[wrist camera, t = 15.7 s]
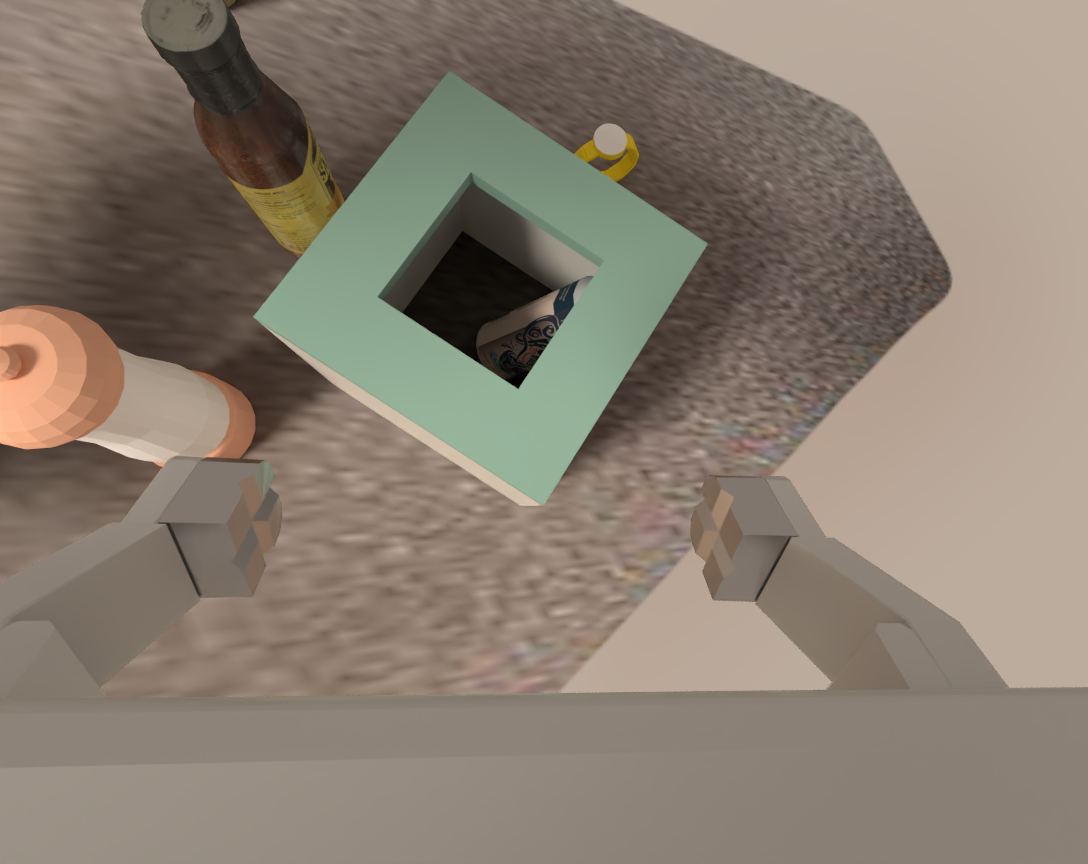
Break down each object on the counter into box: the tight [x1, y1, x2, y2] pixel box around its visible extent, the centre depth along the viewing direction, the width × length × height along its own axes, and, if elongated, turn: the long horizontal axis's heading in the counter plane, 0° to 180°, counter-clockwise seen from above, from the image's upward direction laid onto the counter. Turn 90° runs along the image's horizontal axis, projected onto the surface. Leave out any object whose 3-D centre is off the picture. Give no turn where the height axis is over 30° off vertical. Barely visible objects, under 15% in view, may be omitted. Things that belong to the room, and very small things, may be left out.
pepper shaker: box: [0, 305, 256, 467], centre depth 33 cm, size 7×7×19 cm
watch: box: [575, 123, 639, 182], centre depth 46 cm, size 6×3×6 cm, turn 109°
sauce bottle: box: [141, 0, 345, 258], centre depth 36 cm, size 7×6×20 cm
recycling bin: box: [253, 71, 708, 506], centre depth 38 cm, size 18×18×16 cm
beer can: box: [476, 276, 593, 379], centre depth 40 cm, size 5×5×12 cm
